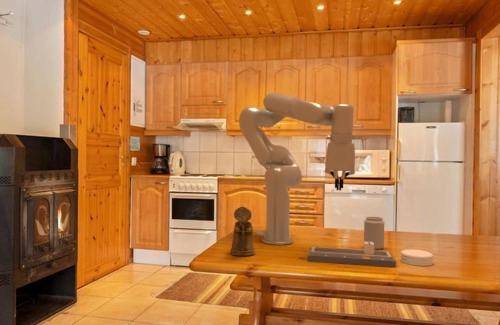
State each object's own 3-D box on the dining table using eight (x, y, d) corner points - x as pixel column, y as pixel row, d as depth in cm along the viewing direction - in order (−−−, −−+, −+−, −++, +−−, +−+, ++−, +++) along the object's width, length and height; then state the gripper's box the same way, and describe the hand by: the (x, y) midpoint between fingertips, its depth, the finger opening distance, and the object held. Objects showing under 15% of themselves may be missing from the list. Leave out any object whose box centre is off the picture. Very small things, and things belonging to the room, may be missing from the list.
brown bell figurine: (227, 259, 127) (228, 206, 127) (231, 250, 141) (232, 201, 140) (254, 260, 127) (255, 206, 127) (255, 250, 140) (256, 202, 140)
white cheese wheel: (406, 257, 135) (406, 247, 135) (436, 262, 129) (436, 252, 129) (396, 263, 127) (396, 252, 127) (428, 268, 121) (428, 257, 121)
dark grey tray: (307, 261, 127) (307, 252, 127) (309, 252, 139) (309, 245, 139) (396, 267, 121) (396, 258, 121) (390, 258, 133) (390, 250, 133)
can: (385, 250, 144) (385, 219, 144) (364, 249, 145) (365, 218, 145) (382, 246, 151) (382, 216, 151) (362, 245, 153) (363, 215, 153)
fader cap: (364, 255, 127) (364, 242, 127) (363, 253, 131) (363, 240, 131) (374, 256, 126) (374, 243, 126) (372, 253, 130) (372, 240, 130)
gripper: (319, 138, 134) (317, 189, 135) (363, 139, 130) (360, 192, 131) (320, 138, 141) (318, 187, 142) (362, 140, 138) (359, 190, 138)
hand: (338, 190), depth 136 cm, fingers closed
